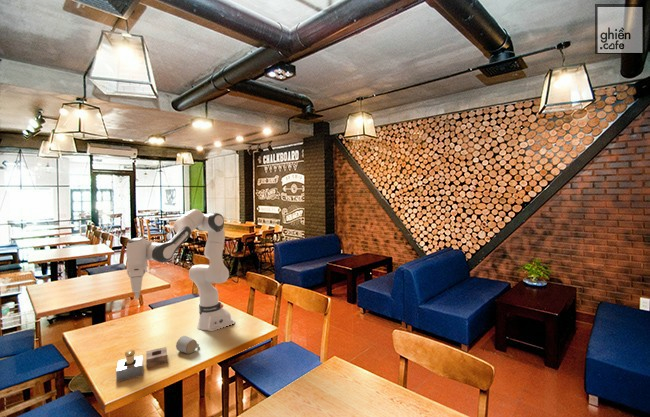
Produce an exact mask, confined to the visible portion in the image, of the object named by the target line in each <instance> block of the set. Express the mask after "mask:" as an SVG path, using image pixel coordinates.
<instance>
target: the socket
mask: <svg viewBox="0 0 650 417" xmlns="http://www.w3.org/2000/svg"><path fill="white" fill-rule="evenodd" d="M143 357H144V355H138V356H137V355H136V356H134V364H133V365H129V366H126V358H124V359H119V360H117V364H116V371H115V372H116V374H115V375H116V383H119V382H122V381H126V380H130V379H134V378H138V377H143V375H144V374H143V372H144V358H143Z"/></svg>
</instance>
